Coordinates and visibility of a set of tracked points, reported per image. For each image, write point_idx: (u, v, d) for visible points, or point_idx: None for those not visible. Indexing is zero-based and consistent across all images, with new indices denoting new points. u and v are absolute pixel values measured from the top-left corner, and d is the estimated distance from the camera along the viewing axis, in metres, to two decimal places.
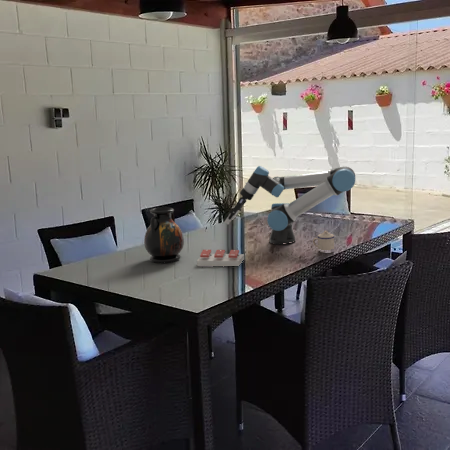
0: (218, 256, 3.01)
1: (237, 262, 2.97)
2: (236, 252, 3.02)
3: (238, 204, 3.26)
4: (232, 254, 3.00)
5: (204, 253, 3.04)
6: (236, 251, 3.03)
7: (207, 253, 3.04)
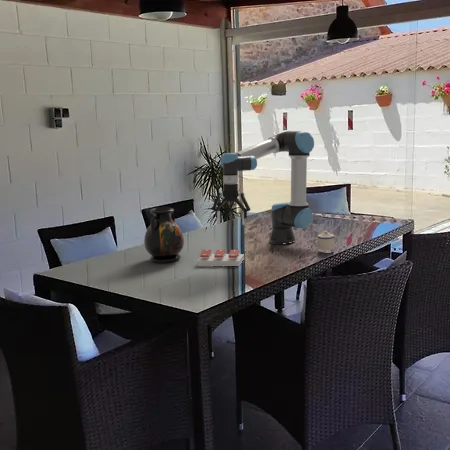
0: (218, 256, 3.01)
1: (237, 262, 2.97)
2: (236, 252, 3.02)
3: (244, 199, 2.99)
4: (232, 254, 3.00)
5: (204, 253, 3.04)
6: (236, 251, 3.03)
7: (207, 253, 3.04)
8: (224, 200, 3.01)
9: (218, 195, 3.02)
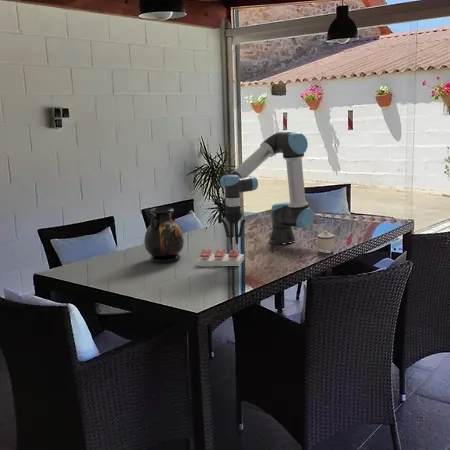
0: (218, 256, 3.01)
1: (237, 262, 2.97)
2: (236, 252, 3.02)
3: (243, 225, 3.01)
4: (232, 254, 3.00)
5: (204, 253, 3.04)
6: (236, 251, 3.03)
7: (207, 253, 3.04)
8: (230, 223, 3.00)
9: (223, 221, 3.02)
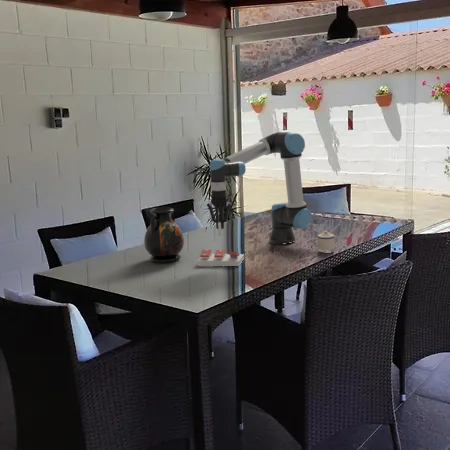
0: (218, 256, 3.01)
1: (237, 262, 2.97)
2: None
3: (228, 209, 3.00)
4: (232, 252, 3.00)
5: (204, 253, 3.04)
6: None
7: (207, 253, 3.04)
8: (216, 208, 3.00)
9: (208, 206, 3.01)
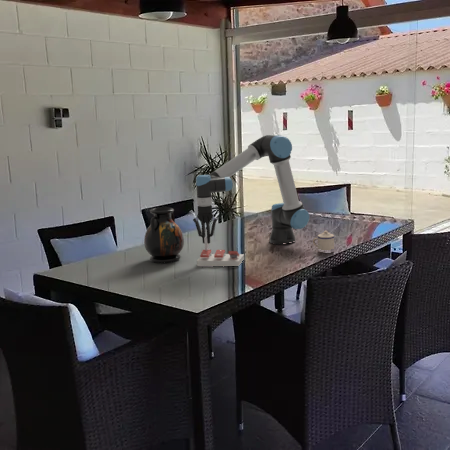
0: (218, 256, 3.01)
1: (237, 262, 2.97)
2: None
3: (214, 224, 3.04)
4: None
5: (204, 253, 3.04)
6: None
7: (207, 253, 3.04)
8: (202, 223, 3.04)
9: (195, 221, 3.05)
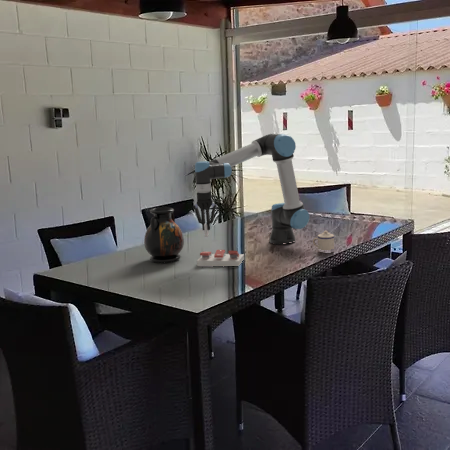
0: (218, 256, 3.01)
1: (237, 262, 2.97)
2: None
3: (214, 211, 3.03)
4: None
5: (204, 252, 3.04)
6: None
7: (207, 252, 3.04)
8: (202, 209, 3.02)
9: (194, 207, 3.04)
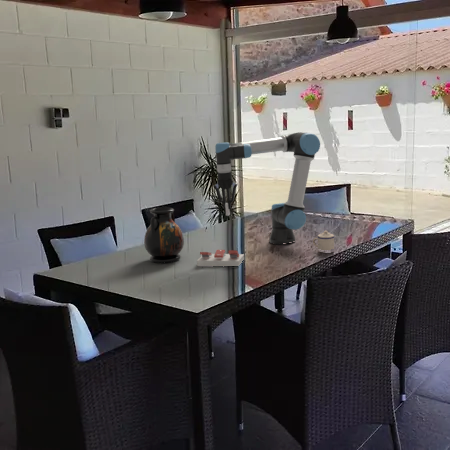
0: (218, 256, 3.01)
1: (237, 262, 2.97)
2: None
3: (235, 190, 3.13)
4: None
5: None
6: None
7: None
8: (223, 189, 3.13)
9: (215, 187, 3.14)
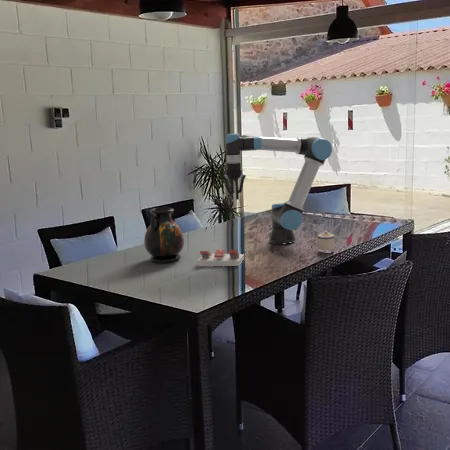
0: (218, 256, 3.01)
1: (237, 262, 2.97)
2: None
3: (243, 181, 3.18)
4: None
5: None
6: None
7: None
8: (231, 179, 3.18)
9: (224, 178, 3.19)
